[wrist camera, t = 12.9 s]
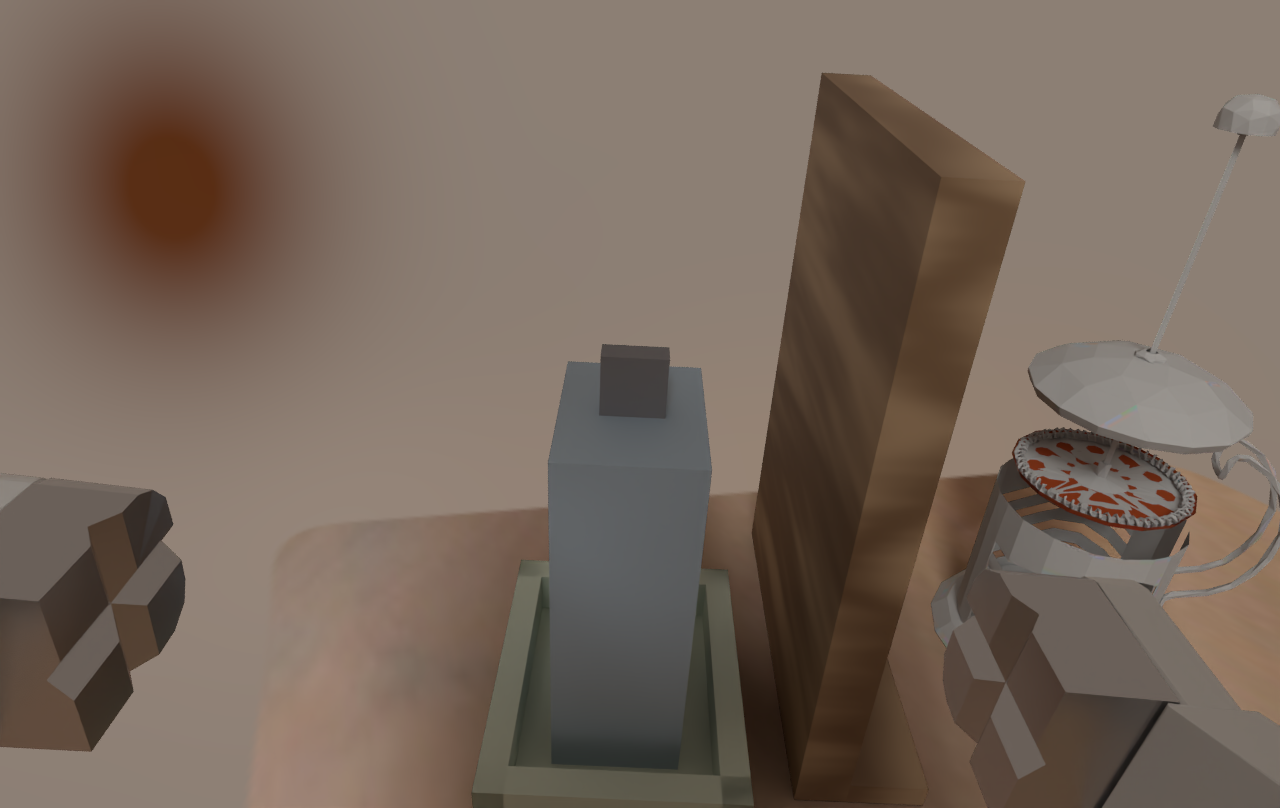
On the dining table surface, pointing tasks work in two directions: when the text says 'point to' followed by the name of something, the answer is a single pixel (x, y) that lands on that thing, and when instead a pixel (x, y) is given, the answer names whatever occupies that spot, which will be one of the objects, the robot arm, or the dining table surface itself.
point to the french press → (1119, 451)
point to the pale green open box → (599, 795)
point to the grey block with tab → (625, 556)
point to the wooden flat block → (867, 419)
